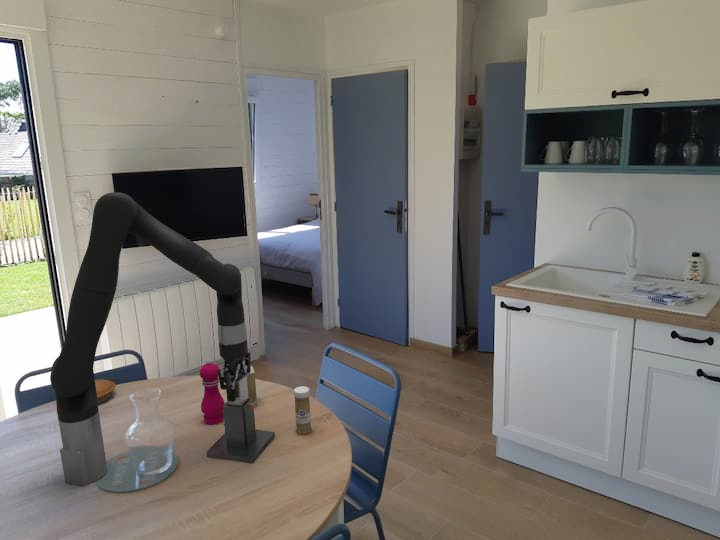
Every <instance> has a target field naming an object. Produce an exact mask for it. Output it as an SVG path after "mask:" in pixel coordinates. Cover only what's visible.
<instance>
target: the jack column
mask: <svg viewBox="0 0 720 540" xmlns="http://www.w3.org/2000/svg"><path fill="white" fill-rule="evenodd" d="M229 377H234V376H232V375H229ZM231 383H232V381H231V380H230V384H231ZM226 394H227V392H226ZM235 395H236V400H235V401H234V402H229V401H228V400H227V399H226V402H227V404H228V406H233V407H241V408H242V407H243V406H244V405H245V404H246V403H247V402H248V401H249V399H248V386H247V373H238V378H237V380H236V381H235Z"/></svg>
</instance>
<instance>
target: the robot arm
mask: <svg viewBox="0 0 720 540" xmlns="http://www.w3.org/2000/svg"><path fill="white" fill-rule="evenodd" d="M127 234H130V235H133V236H135V237H137V238H139V239H141V240H143V241H144V242H146V243H147V244H149V245H150V246H152V247H153V248H154V249H155V250H157V251H158V252H159V253H161V254H163V256H164V257H165V258H167V259H168V260H170V261H171V262H173V263H174V264H176V265H177V266H178V267H181V268H183V269H184V270H185V271H187V272H189V273H191V274H193V275H194V276H196V277H198V278H199V279H200V280H201V281H202V282H203V283H204V284H206V285H207V286H208V287H210V288H211V289H212V290H213V291H215V292H216V299H217V300H216V301H217V305H216V315H217V316H216V319H217V339H218V351H219V356H220V357H221V358H222V359H223V360H224V363H223V367H222V369H220V368H219V370H218V378H219V387H220V390H225V391H226V392H227V393H226V401H227V400H228V401H229V402H234V401H235V400H236V395H235V381H236V380H237V378H238V373H247V377H248V373H250V372H251V366H252V365H251V364H252V363H251V359H252V358H251V352H250V351H249V347H248V336H247V335H248V334H247V326H246V322H245V309H244V303H243V297H242V296H243V294H242V293H243V290H242V289H243V288H242V287H243V286H242V273H241V270H240V269H239V268H238V267H237V266H236V265H234V264H232V263H222V262H221V261H219V260H218V259H216V258H215V257H214V256H213V254H212V253H211V252H209V251H208V250H207V249H205V248H204V247H202V246H200V245H199V244H197V243H195V242H194V241H192V240H190V239H189V238H187V237H186V236H184V235H182V234H180V233H179V232H178V231H175V230H174V229H172V228H170V227H168V226H167V225H166V224H164V223H163V222H161V221H160V220H158V219H157V218H155V216H152V214H150V213H149V212H147V210H145V209H144V208H143V207H142V206H141V205H140V204H138V203H137V202H136V200H134V199H133V197H131V196H130V195H129V194H127V193H123V192H119V191H117V192H114V191H113V192H108V193H105V194H103V195H101V196H100V197H99V198H98V199H97V201H96V202H95V205H94V207H93V213H92V221H91V228H90V234H89V240H88V243H87V248H86V251H85V254H84V256H83V259H82V260H81V264H80V267H79V270H78V273H77V276H76V278H75V282H74V285H73V288H72V289H73V290H72V293H71V297H70V302H69V306H68V314H67V321H66V329H65V330H66V331H65V338H64V341H63V344H62V345H63V346H62V347H61V350H60V353H59V355H58V357H56V359H55V360H54V361H53V363H52V366H51V369H50V370H51V371H50V376H49V379H50V380H49V381H50V384H51V387H52V389H53V390H54V392H55V401H56V403H55V404H56V414H57V422H58V426H59V431H60V433H59V434H60V438H61V444H62V447H61V448H60V449H59V453H60V458H61V464H62V470H63V476H64V483H67V484H72V485H78V486H83V487H85V486H87V485H88V484H90V483H93V482H96V481H97V480H99V479H101V478H102V477H104V476H105V475H106V473H107V472H108V464H107V458H106V451H105V446H104V445H105V444H104V438H103V433H102V432H103V431H102V425H101V417H100V412H99V404H98V401H97V392H96V385H95V380H96V378H95V373H94V364H95V357H96V353H97V349H98V345H99V344H98V343H99V341H100V340H101V336H102V334H103V332H104V329H105V326H106V324H107V321H108V319H109V315H110V311H111V308H112V305H113V302H114V300H115V299H114V298H115V296H116V292H117V287H118V280H119V270H120V259H121V258H120V256H121V252H122V248H123V245H124V243H125V240H126V237H127ZM246 366H247V368H246ZM229 375H232V376H234V377H229ZM230 380H231V381H232V383H231V384H230Z"/></svg>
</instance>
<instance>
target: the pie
mask: <svg viewBox="0 0 720 540" xmlns="http://www.w3.org/2000/svg"><path fill="white" fill-rule="evenodd" d="M95 385H96V392H97V401H98V405H100V404H102V403H104V402H106V401H108V400H109V399H110V398H111V397H112V393H113V392H114V390H115V388H116V386H117V385H116V383H115V382H113V381H112V380H108V379H95ZM99 403H100V404H99Z"/></svg>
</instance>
